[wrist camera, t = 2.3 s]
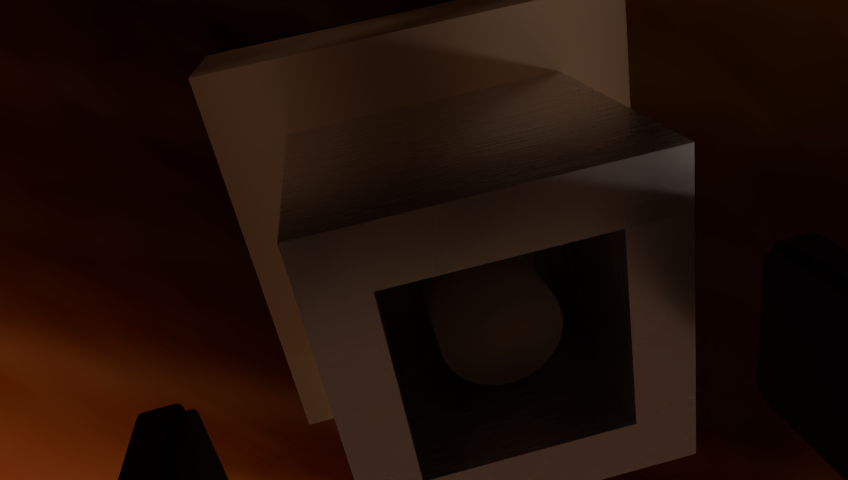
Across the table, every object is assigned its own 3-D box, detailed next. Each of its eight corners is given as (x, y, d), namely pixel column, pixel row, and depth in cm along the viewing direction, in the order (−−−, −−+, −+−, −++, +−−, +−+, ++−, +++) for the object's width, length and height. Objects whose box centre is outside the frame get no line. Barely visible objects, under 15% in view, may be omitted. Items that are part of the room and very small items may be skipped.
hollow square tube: (560, 71, 16) (694, 142, 10) (582, 303, 18) (696, 453, 13) (287, 134, 15) (277, 243, 10) (353, 362, 18) (374, 542, 13)
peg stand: (575, -27, 18) (761, -1, 10) (600, 288, 22) (743, 457, 15) (206, 55, 17) (135, 143, 10) (308, 363, 21) (310, 578, 14)
